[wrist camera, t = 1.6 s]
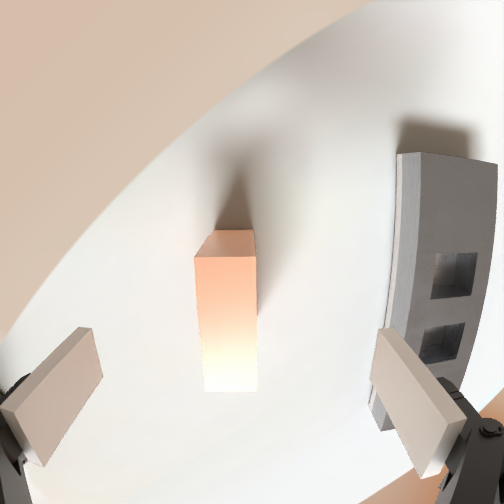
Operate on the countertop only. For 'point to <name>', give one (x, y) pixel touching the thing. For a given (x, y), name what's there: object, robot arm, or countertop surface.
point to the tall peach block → (227, 310)
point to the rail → (440, 261)
